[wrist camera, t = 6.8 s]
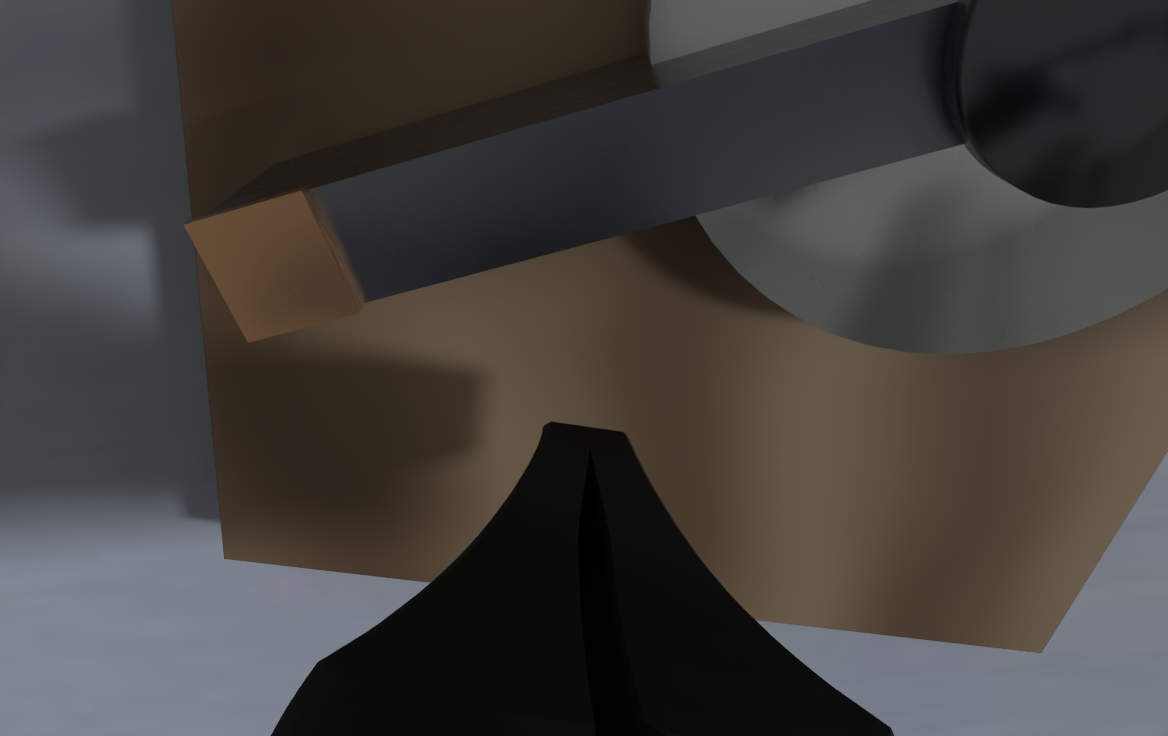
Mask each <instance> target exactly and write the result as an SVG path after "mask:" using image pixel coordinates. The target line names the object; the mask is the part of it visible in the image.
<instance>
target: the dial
mask: <svg viewBox="0 0 1168 736" xmlns="http://www.w3.org/2000/svg"><path fill="white" fill-rule="evenodd" d="M643 23H644V50H645V54H642V55H638V56H635V57H632V58H628V59H625V60H622V61H618V62H615V63H611V64H608V65H605V66H601V67H598V68H595V69H591V70H588V71H584V72H581V73H578V74H574V75H571V76H568V77H564V78H561V79H557V80H554V81H551V82H547V83H544V84H541V85H537V86H534V87H531V88H527V89H524V90H520V91H517V92H514V93H510V94H507V95H504V96H500V97H497V98H493V99H490V100H487V101H483V102H480V103H477V104H473V105H470V106H466V107H463V108H460V109H456V110H453V111H450V112H446V113H443V114H439V115H436V116H433V117H429V118H426V119H423V120H419V121H416V122H412V123H409V124H406V125H402V126H399V127H396V128H392V129H389V130H385V131H382V132H379V133H375V134H372V135H369V136H365V137H362V138H358V139H355V140H352V141H348V142H345V143H342V144H338V145H335V146H331V147H328V148H325V149H321V150H318V151H315V152H311V153H308V154H304V155H301V156H298V157H294V158H291V159H288V160H284V161H281V162H277V163H275V164H274V165H272V166H271V167H270V168H268V169H267V170H266V171H264V172H263V173H261V174H260V175H259V176H257V177H256V178H254V179H253V180H252V181H250V182H249V183H248V184H246V185H245V186H243V187H242V188H241V189H239V190H238V191H237V192H235V193H234V194H232V195H231V196H230V197H228V198H227V199H225V200H224V201H223V202H221V203H220V204H219V205H217V206H216V207H214V208H213V209H212V210H210V211H209V212H207V213H206V214H205V215H203V216H201V217H198V218H194V219H191V220H189V221H188V222H186V223H185V224H184V227H185V229H186V231H187V232H188V234H189V236H190V238H191V240H192V242H193V243H194V245H195V247H196V249H197V251H198V253H199V254H200V256H201V258H202V260H203V262H204V263H205V265H206V267H207V269H208V271H209V273H210V274H211V276H212V278H213V280H214V282H215V284H216V285H217V287H218V289H219V291H220V293H221V294H222V296H223V298H224V300H225V302H226V304H227V305H228V307H229V309H230V311H231V313H232V315H233V316H234V318H235V320H236V322H237V324H238V325H239V327H240V329H241V331H242V333H243V335H244V336H245V338H246V340H247V342H248V343H249V342H253V341H257V340H260V339H264V338H268V337H272V336H276V335H279V334H283V333H287V332H291V331H295V330H298V329H302V328H306V327H310V326H314V325H317V324H321V323H325V322H329V321H333V320H336V319H340V318H344V317H348V316H352V315H355V314H359V312H360V310H361V309H362V305H361V304H363V303H367V302H370V301H374V300H378V299H382V298H385V297H389V296H393V295H397V294H400V293H404V292H408V291H412V290H416V289H419V288H423V287H427V286H431V285H434V284H438V283H442V282H446V281H450V280H453V279H457V278H461V277H465V276H468V275H472V274H476V273H480V272H483V271H487V270H491V269H495V268H499V267H502V266H506V265H510V264H514V263H517V262H521V261H525V260H529V259H533V258H536V257H540V256H544V255H548V254H551V253H555V252H559V251H563V250H566V249H570V248H574V247H578V246H582V245H585V244H589V243H593V242H597V241H600V240H604V239H608V238H612V237H615V236H619V235H623V234H627V233H631V232H634V231H638V230H642V229H646V228H649V227H653V226H657V225H661V224H665V223H668V222H672V221H676V220H680V219H683V218H687V217H691V216H696V217H697V219H698V220H699V222H700V224H701V225H702V227H703V228H704V230H705V231H706V233H707V235H708V236H709V238H710V239H711V241H712V242H713V244H714V245H715V246H716V247H717V248H718V249H719V251H720V252H721V253H722V254H723V255H724V256H725V258H726V259H727V260H728V261H729V262H730V263H731V265H732V266H733V267H734V268H735V269H736V270H737V272H738V273H739V274H741V275H742V276H743V277H744V278H745V279H746V280H747V281H749V282H750V283H751V284H752V285H753V286H754V287H755V288H757V289H758V290H759V291H760V292H761V293H762V294H763V295H765V296H766V297H767V298H768V299H770V300H771V301H773V302H774V303H776V304H778V305H779V306H781V307H782V308H784V309H785V310H787V311H788V312H790V313H791V314H793V315H795V316H796V317H798V318H799V319H801V320H803V321H806V322H808V323H810V324H812V325H814V326H816V327H818V328H821V329H823V330H825V331H827V332H829V333H831V334H834V335H837V336H840V337H843V338H846V339H850V340H853V341H856V342H859V343H863V344H866V345H869V346H874V347H880V348H885V349H891V350H897V351H903V352H909V353H929V354H963V353H978V352H991V351H996V350H1002V349H1008V348H1014V347H1019V346H1025V345H1031V344H1034V343H1038V342H1041V341H1045V340H1048V339H1052V338H1055V337H1059V336H1062V335H1066V334H1070V333H1073V332H1076V331H1078V330H1081V329H1083V328H1086V327H1088V326H1091V325H1093V324H1096V323H1099V322H1101V321H1104V320H1106V319H1109V318H1111V317H1114V316H1116V315H1118V314H1120V313H1122V312H1124V311H1126V310H1128V309H1130V308H1132V307H1134V306H1136V305H1138V304H1140V303H1142V302H1144V301H1146V300H1148V299H1150V298H1152V297H1154V296H1156V295H1158V294H1159V293H1161V292H1163V291H1164V290H1166V289H1167V288H1168V0H644V11H643Z"/></svg>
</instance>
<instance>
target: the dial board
mask: <svg viewBox="0 0 1168 736" xmlns="http://www.w3.org/2000/svg"><path fill="white" fill-rule="evenodd" d="M171 1H172V11H173V22H174V32H175V43H176V54H177V64H178V75H179V85H180V96H181V107H182V117H183V128H184V138H185V149H186V159H187V170H188V181H189V191H190V202H191V212H192V219H194V218H198V217H201V216H203V215H205V214H206V213H207V212H209V211H210V210H212V209H213V208H214V207H216V206H217V205H219V204H220V203H221V202H223V201H224V200H225V199H227V198H228V197H230V196H231V195H232V194H234V193H235V192H237V191H238V190H239V189H241V188H242V187H243V186H245V185H246V184H248V183H249V182H250V181H252V180H253V179H254V178H256V177H257V176H259V175H260V174H261V173H263V172H264V171H266V170H267V169H268V168H270V167H271V166H272V165H274V164H275V163H277V162H281V161H284V160H288V159H291V158H294V157H298V156H301V155H304V154H308V153H311V152H315V151H318V150H321V149H325V148H328V147H331V146H335V145H338V144H342V143H345V142H348V141H352V140H355V139H358V138H362V137H365V136H369V135H372V134H375V133H379V132H382V131H385V130H389V129H392V128H396V127H399V126H402V125H406V124H409V123H412V122H416V121H419V120H423V119H426V118H429V117H433V116H436V115H439V114H443V113H446V112H450V111H453V110H456V109H460V108H463V107H466V106H470V105H473V104H477V103H480V102H483V101H487V100H490V99H493V98H497V97H500V96H504V95H507V94H510V93H514V92H517V91H520V90H524V89H527V88H531V87H534V86H537V85H541V84H544V83H547V82H551V81H554V80H557V79H561V78H564V77H568V76H571V75H574V74H578V73H581V72H584V71H588V70H591V69H595V68H598V67H601V66H605V65H608V64H611V63H615V62H618V61H622V60H625V59H628V58H632V57H635V56H638V55H642V54H645V50H644V23H643V11H644V0H171ZM195 255H196V265H197V276H198V286H199V297H200V308H201V318H202V329H203V339H204V350H205V361H206V371H207V382H208V392H209V403H210V413H211V424H212V435H213V445H214V456H215V466H216V477H217V488H218V498H219V509H220V519H221V530H222V540H223V551H224V559H230V560H239V561H248V562H256V563H265V564H274V565H282V566H291V567H300V568H308V569H317V570H326V571H334V572H343V573H352V574H360V575H369V576H378V577H386V578H395V579H404V580H412V581H421V582H430V583H431V582H432V581H433V580H435V579H436V578H437V577H438V576H439V575H440V574H441V573H442V572H443V571H444V570H445V569H446V568H447V567H448V566H449V565H450V564H451V563H452V562H453V561H454V560H456V559H457V558H458V557H459V556H460V554H461V553H462V552H463V551H464V550H465V549H466V548H467V547H468V546H469V545H470V544H471V543H472V542H473V541H474V539H475V538H476V537H477V536H478V535H479V534H480V532H481V531H482V530H483V529H484V528H485V527H486V525H487V524H488V523H489V522H490V520H491V519H492V518H493V516H494V515H495V514H496V512H497V511H498V510H499V508H500V507H501V506H502V504H503V503H504V502H505V500H506V499H507V498H508V496H509V495H510V493H511V492H512V490H513V489H514V487H515V486H516V484H517V482H518V481H519V479H520V478H521V476H522V474H523V473H524V471H525V469H526V468H527V466H528V464H529V462H530V460H531V458H532V456H533V455H534V453H535V450H536V448H537V446H538V444H539V441H540V438H541V435H542V430H543V426H544V425H546V424H547V423H549V422H551V421H552V422H559V423H566V424H573V425H580V426H587V427H594V428H600V429H607V430H614V431H621V432H624V433H625V434H626V435H627V437H628V438H629V440H630V442H631V444H632V446H633V448H634V451H635V453H636V455H637V457H638V459H639V461H640V463H641V465H642V467H643V469H644V470H645V472H646V474H647V476H648V478H649V480H650V482H651V483H652V485H653V487H654V489H655V491H656V492H657V494H658V496H659V497H660V499H661V501H662V502H663V504H664V506H665V507H666V509H667V510H668V512H669V514H670V515H671V517H672V519H673V520H674V522H675V523H676V525H677V526H678V528H679V529H680V531H681V532H682V534H683V535H684V537H685V538H686V539H687V541H688V542H689V544H690V545H691V546H692V548H693V549H694V551H695V552H696V554H697V555H698V556H699V557H700V559H701V560H702V561H703V563H704V564H705V565H706V567H707V568H708V569H709V570H710V572H711V573H712V574H713V575H714V576H715V577H716V579H717V580H718V581H719V582H720V583H721V584H722V586H723V587H724V588H725V589H726V590H727V591H728V592H729V594H730V595H731V596H732V597H733V598H734V599H735V600H736V601H737V602H738V603H739V604H740V605H741V606H742V607H743V608H744V609H745V610H746V611H747V612H748V613H749V614H750V615H751V616H752V617H753V618H754V619H755V620H759V621H768V622H776V623H785V624H794V625H802V626H811V627H820V628H828V629H837V630H846V631H855V632H863V633H872V634H881V635H889V636H898V637H907V638H915V639H924V640H933V641H941V642H950V643H959V644H967V645H976V646H985V647H993V648H1002V649H1011V650H1019V651H1028V652H1037V653H1042V651H1043V650H1044V648H1045V646H1046V645H1047V643H1048V642H1049V640H1050V638H1051V637H1052V635H1053V634H1054V632H1055V630H1056V629H1057V627H1058V626H1059V624H1060V622H1061V621H1062V619H1063V618H1064V616H1065V614H1066V613H1067V611H1068V610H1069V608H1070V606H1071V605H1072V603H1073V602H1074V600H1075V598H1076V597H1077V595H1078V594H1079V592H1080V590H1081V589H1082V587H1083V586H1084V584H1085V582H1086V581H1087V579H1088V578H1089V576H1090V574H1091V573H1092V571H1093V570H1094V568H1095V567H1096V565H1097V563H1098V562H1099V560H1100V559H1101V557H1102V555H1103V554H1104V552H1105V551H1106V549H1107V547H1108V546H1109V544H1110V543H1111V541H1112V539H1113V538H1114V536H1115V535H1116V533H1117V531H1118V530H1119V528H1120V527H1121V525H1122V523H1123V522H1124V520H1125V519H1126V517H1127V515H1128V514H1129V512H1130V511H1131V509H1132V507H1133V506H1134V504H1135V503H1136V501H1137V499H1138V498H1139V496H1140V495H1141V493H1142V492H1143V490H1144V488H1145V487H1146V485H1147V484H1148V482H1149V480H1150V479H1151V477H1152V476H1153V474H1154V472H1155V471H1156V469H1157V468H1158V466H1159V464H1160V463H1161V461H1162V460H1163V458H1164V456H1165V455H1166V453H1167V452H1168V288H1167V289H1166V290H1164V291H1163V292H1161V293H1159V294H1158V295H1156V296H1154V297H1152V298H1150V299H1148V300H1146V301H1144V302H1142V303H1140V304H1138V305H1136V306H1134V307H1132V308H1130V309H1128V310H1126V311H1124V312H1122V313H1120V314H1118V315H1116V316H1114V317H1111V318H1109V319H1106V320H1104V321H1101V322H1099V323H1096V324H1093V325H1091V326H1088V327H1086V328H1083V329H1081V330H1078V331H1076V332H1073V333H1070V334H1066V335H1062V336H1059V337H1055V338H1052V339H1048V340H1045V341H1041V342H1038V343H1034V344H1031V345H1025V346H1019V347H1014V348H1008V349H1002V350H996V351H991V352H978V353H963V354H929V353H909V352H903V351H897V350H891V349H885V348H880V347H874V346H869V345H866V344H863V343H859V342H856V341H853V340H850V339H846V338H843V337H840V336H837V335H834V334H831V333H829V332H827V331H825V330H823V329H821V328H818V327H816V326H814V325H812V324H810V323H808V322H806V321H803V320H801V319H799V318H798V317H796V316H795V315H793V314H791V313H790V312H788V311H787V310H785V309H784V308H782V307H781V306H779V305H778V304H776V303H774V302H773V301H771V300H770V299H768V298H767V297H766V296H765V295H763V294H762V293H761V292H760V291H759V290H758V289H757V288H755V287H754V286H753V285H752V284H751V283H750V282H749V281H747V280H746V279H745V278H744V277H743V276H742V275H741V274H739V273H738V272H737V270H736V269H735V268H734V267H733V266H732V265H731V263H730V262H729V261H728V260H727V259H726V258H725V256H724V255H723V254H722V253H721V252H720V251H719V249H718V248H717V247H716V246H715V245H714V244H713V242H712V241H711V239H710V238H709V236H708V235H707V233H706V231H705V230H704V228H703V227H702V225H701V224H700V222H699V220H698V219H697V217H696V216H691V217H687V218H683V219H680V220H676V221H672V222H668V223H665V224H661V225H657V226H653V227H649V228H646V229H642V230H638V231H634V232H631V233H627V234H623V235H619V236H615V237H612V238H608V239H604V240H600V241H597V242H593V243H589V244H585V245H582V246H578V247H574V248H570V249H566V250H563V251H559V252H555V253H551V254H548V255H544V256H540V257H536V258H533V259H529V260H525V261H521V262H517V263H514V264H510V265H506V266H502V267H499V268H495V269H491V270H487V271H483V272H480V273H476V274H472V275H468V276H465V277H461V278H457V279H453V280H450V281H446V282H442V283H438V284H434V285H431V286H427V287H423V288H419V289H416V290H412V291H408V292H404V293H400V294H397V295H393V296H389V297H385V298H382V299H378V300H374V301H370V302H367V303H363V304H361V305H362V309H361V310H360V312H359V314H355V315H352V316H348V317H344V318H340V319H336V320H333V321H329V322H325V323H321V324H317V325H314V326H310V327H306V328H302V329H298V330H295V331H291V332H287V333H283V334H279V335H276V336H272V337H268V338H264V339H260V340H257V341H253V342H249V343H248V342H247V340H246V338H245V336H244V335H243V333H242V331H241V329H240V327H239V325H238V324H237V322H236V320H235V318H234V316H233V315H232V313H231V311H230V309H229V307H228V305H227V304H226V302H225V300H224V298H223V296H222V294H221V293H220V291H219V289H218V287H217V285H216V284H215V282H214V280H213V278H212V276H211V274H210V273H209V271H208V269H207V267H206V265H205V263H204V262H203V260H202V258H201V256H200V254H199V253H198V251H197V249H196V247H195Z"/></svg>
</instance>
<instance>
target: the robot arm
mask: <svg viewBox="0 0 1168 736" xmlns="http://www.w3.org/2000/svg"><path fill="white" fill-rule="evenodd" d="M271 736H894V734H893V732H892V730H891V728H890V727H889V726H887V725H886V724H885V723H883V722H882V721H880V720H879V719H878V718H876V717H875V716H873V715H872V714H870V713H869V712H868V711H866V710H865V709H863V708H862V707H861V706H859V705H858V704H856V703H855V702H853V701H852V700H851V699H849V698H848V697H846V696H845V695H844V694H842V693H841V692H839V691H838V690H836V689H835V688H834V687H832V686H831V685H830V684H828V683H827V682H826V681H824V680H823V679H822V678H821V677H820V676H818V675H817V674H816V673H815V672H813V671H812V670H811V669H810V668H808V667H807V666H806V665H805V664H804V663H802V662H801V661H800V660H799V659H797V658H796V657H795V656H794V655H793V654H791V653H790V652H789V651H788V650H787V649H786V648H785V647H784V646H782V645H781V644H780V643H779V642H778V641H777V640H776V639H775V638H773V637H772V636H771V635H770V634H769V633H768V632H767V631H766V630H765V629H764V628H763V627H762V626H761V625H760V624H759V623H758V622H757V621H756V620H755V619H754V618H753V617H752V616H751V615H750V614H749V613H748V612H747V611H746V610H745V609H744V608H743V607H742V606H741V605H740V604H739V603H738V602H737V601H736V600H735V599H734V598H733V597H732V596H731V595H730V594H729V592H728V591H727V590H726V589H725V588H724V587H723V586H722V584H721V583H720V582H719V581H718V580H717V579H716V577H715V576H714V575H713V574H712V573H711V572H710V570H709V569H708V568H707V567H706V565H705V564H704V563H703V561H702V560H701V559H700V557H699V556H698V555H697V554H696V552H695V551H694V549H693V548H692V546H691V545H690V544H689V542H688V541H687V539H686V538H685V537H684V535H683V534H682V532H681V531H680V529H679V528H678V526H677V525H676V523H675V522H674V520H673V519H672V517H671V515H670V514H669V512H668V510H667V509H666V507H665V506H664V504H663V502H662V501H661V499H660V497H659V496H658V494H657V492H656V491H655V489H654V487H653V485H652V483H651V482H650V480H649V478H648V476H647V474H646V472H645V470H644V469H643V467H642V465H641V463H640V461H639V459H638V457H637V455H636V453H635V451H634V448H633V446H632V444H631V442H630V440H629V438H628V437H627V435H626V434H625V433H624V432H621V431H614V430H607V429H600V428H594V427H587V426H580V425H573V424H566V423H559V422H552V421H551V422H549V423H547V424H546V425H544V426H543V430H542V435H541V438H540V441H539V444H538V446H537V448H536V450H535V453H534V455H533V456H532V458H531V460H530V462H529V464H528V466H527V468H526V469H525V471H524V473H523V474H522V476H521V478H520V479H519V481H518V482H517V484H516V486H515V487H514V489H513V490H512V492H511V493H510V495H509V496H508V498H507V499H506V500H505V502H504V503H503V504H502V506H501V507H500V508H499V510H498V511H497V512H496V514H495V515H494V516H493V518H492V519H491V520H490V522H489V523H488V524H487V525H486V527H485V528H484V529H483V530H482V531H481V532H480V534H479V535H478V536H477V537H476V538H475V539H474V541H473V542H472V543H471V544H470V545H469V546H468V547H467V548H466V549H465V550H464V551H463V552H462V553H461V554H460V556H459V557H458V558H457V559H456V560H454V561H453V562H452V563H451V564H450V565H449V566H448V567H447V568H446V569H445V570H444V571H443V572H442V573H441V574H440V575H439V576H438V577H437V578H436V579H435V580H433V581H432V582H431V583H430V584H429V585H428V586H427V587H425V588H424V589H423V590H422V591H421V592H420V593H418V594H417V595H416V596H414V597H413V598H412V599H411V600H409V601H408V602H407V603H405V604H404V605H403V606H401V607H400V608H399V609H398V610H396V611H395V612H394V613H392V614H391V615H390V616H388V617H387V618H386V619H384V620H383V621H382V622H381V623H379V624H378V625H376V626H375V627H373V628H372V629H370V630H369V631H367V632H366V633H364V634H363V635H361V636H359V637H358V638H356V639H355V640H353V641H351V642H350V643H348V644H347V645H345V646H343V647H342V648H340V649H339V650H337V651H335V652H334V653H332V654H331V655H329V656H327V657H326V658H324V659H322V660H320V661H319V662H318V663H317V664H316V665H315V667H314V668H313V670H312V671H311V672H310V674H309V675H308V677H307V678H306V679H305V681H304V682H303V684H302V685H301V687H300V688H299V689H298V691H297V692H296V694H295V696H294V697H293V699H292V700H291V702H290V703H289V705H288V707H287V708H286V710H285V711H284V713H283V715H282V717H281V718H280V720H279V722H278V724H277V726H276V727H275V729H274V731H273V733H272V735H271Z"/></svg>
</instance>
